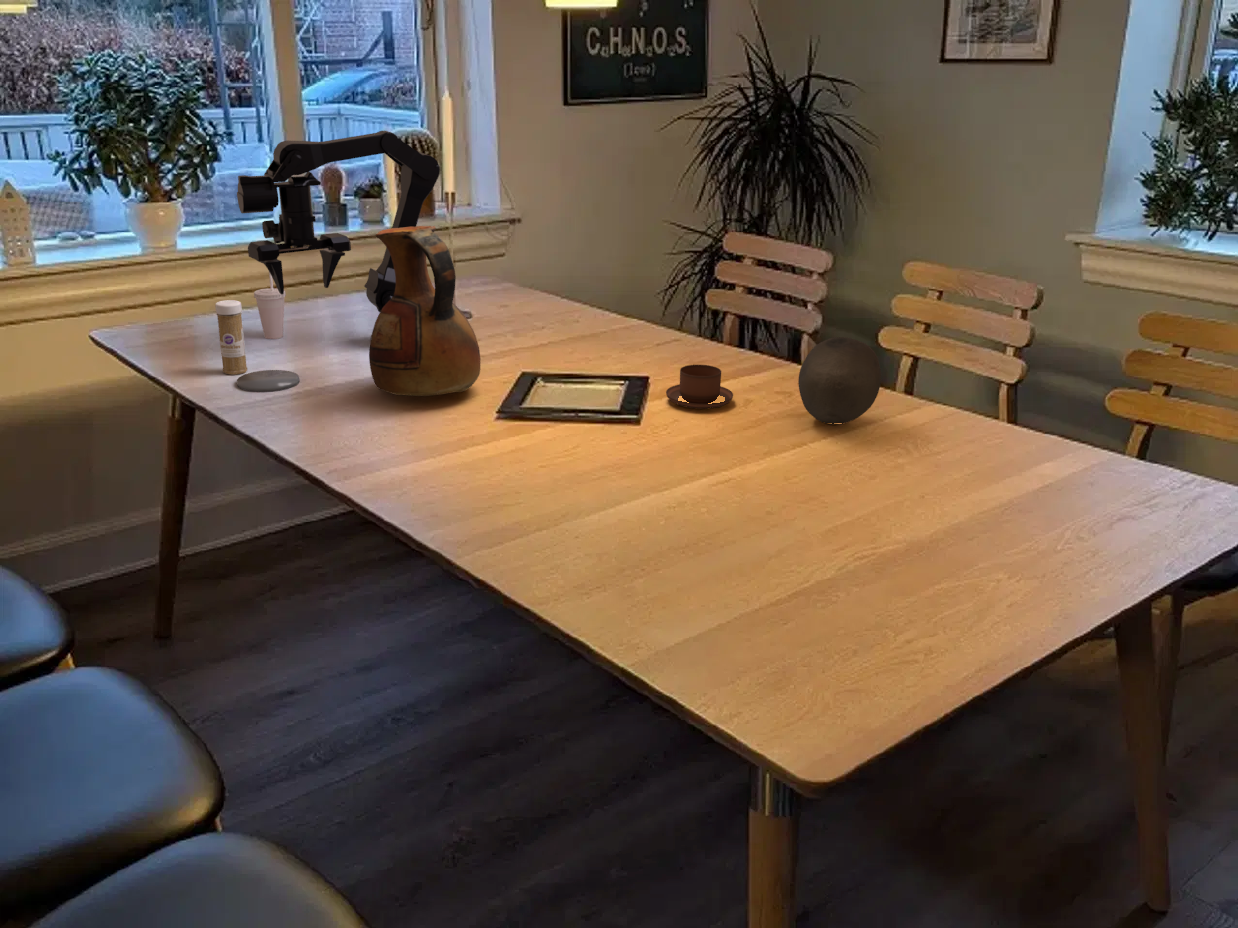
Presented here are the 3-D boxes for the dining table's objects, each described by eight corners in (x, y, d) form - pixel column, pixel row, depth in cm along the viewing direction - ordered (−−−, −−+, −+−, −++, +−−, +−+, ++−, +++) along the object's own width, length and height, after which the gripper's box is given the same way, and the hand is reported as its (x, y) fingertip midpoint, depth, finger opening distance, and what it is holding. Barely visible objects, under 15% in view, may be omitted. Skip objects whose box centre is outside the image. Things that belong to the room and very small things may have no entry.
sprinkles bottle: (222, 376, 208) (214, 305, 203) (223, 369, 212) (215, 300, 207) (248, 374, 210) (240, 304, 205) (248, 367, 214) (240, 298, 209)
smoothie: (284, 341, 232) (278, 274, 226) (253, 340, 232) (246, 273, 226) (293, 333, 237) (287, 268, 232) (263, 332, 238) (257, 267, 232)
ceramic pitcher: (430, 369, 215) (423, 213, 204) (504, 391, 203) (502, 226, 192) (348, 392, 201) (336, 225, 190) (423, 417, 189) (414, 241, 178)
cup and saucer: (651, 402, 200) (652, 369, 198) (696, 388, 208) (697, 357, 206) (701, 419, 192) (703, 384, 190) (746, 404, 200) (748, 371, 198)
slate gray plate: (309, 376, 209) (308, 372, 209) (283, 393, 199) (283, 389, 199) (254, 372, 211) (253, 368, 211) (226, 389, 201) (225, 385, 201)
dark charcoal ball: (776, 420, 192) (783, 335, 186) (835, 406, 199) (843, 324, 194) (835, 444, 181) (844, 355, 175) (895, 429, 188) (905, 343, 183)
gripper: (324, 200, 223) (331, 277, 229) (232, 208, 213) (242, 289, 219) (349, 208, 215) (355, 287, 221) (255, 216, 205) (264, 300, 210)
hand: (304, 290), depth 218 cm, fingers open, 9 cm apart
